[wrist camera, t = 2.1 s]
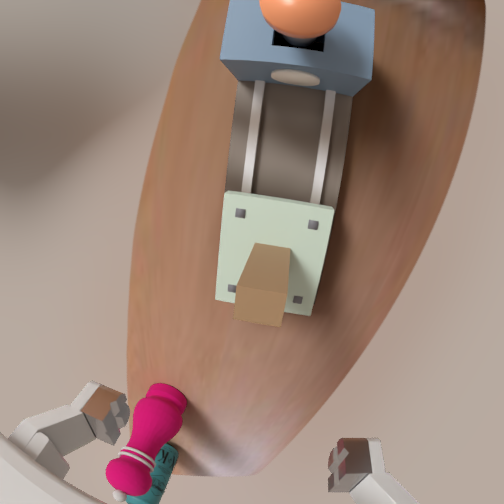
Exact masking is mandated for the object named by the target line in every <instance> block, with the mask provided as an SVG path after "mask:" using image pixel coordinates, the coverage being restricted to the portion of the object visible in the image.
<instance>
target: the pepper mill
mask: <svg viewBox="0 0 504 504" xmlns="http://www.w3.org/2000/svg"><path fill="white" fill-rule="evenodd" d="M186 405H187V401H186V398H185V396H184V395H183V394H182V393H181V392H180V391H179V390H177V389H176V388H174V387H172V386H170V385H167V384H162V383H157V384H153V385H152V386H151V387H150V389H149V390H148V392H147V394H146V397H145V398H142V399H141V400H139V401H138V403H137V405H136V407H135V410H134V414H133V430H132V435H131V438H130V440H129V442H128V444H127V445H126V447H122V448H121V451H120V452H119V453H118V456H119V458H116V459H113V460H111V461H110V462H109V464H108V465H107V468H106V477H107V480H108V482H109V483H110V484H111V485H112V486H113V487H114V488H115V489H116V490H115V491H114V492H113V497H114V499H115V500H117V501H119V502H123V501H125V500H126V499H127V495H130V496H141V495H144V494H146V493H147V492H148V491H149V489H150V488H151V485H152V478H151V475H150V473H152V472H153V471H154V467H155V466H156V463H155V458H156V455H157V453H158V452H159V450H160V449H161V448H162V446H163V445H164V444H166V443H167V442H168V441H169V440H170V439H172V438H173V437H174V436H175V435H176V434H177V433H178V431H179V430H180V428H181V426H182V416H181V415H182V414H183V412H184V410H185V408H186Z"/></svg>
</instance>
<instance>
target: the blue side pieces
mask: <svg viewBox="0 0 504 504" xmlns="http://www.w3.org/2000/svg"><path fill="white" fill-rule="evenodd" d="M374 21H375V10H374V9H370V8H366V7H362V6H358V5H354V4H350V3H345V2H341V12H340V15H339V18H338V21H337V23H336V25H335V26H334V27H333V29H331V30H330V31H329V32H327V33H326V34H324V35H321V36H318V37H317V38H316V40H315V42H319V43H324V47H323V52H320V51H314V50H308V49H301V48H293V47H284V46H274V45H273V44H274V37H282V38H284V37H283V34H281V33H279V32H277V31H276V30H274V29H273V28H272V27H270V26H269V25H268V23H267V22H266V21H265V19H264V17H263V15H262V11H261V8H260V3H259V0H230V4H229V9H228V14H227V19H226V25H225V30H224V36H223V42H222V48H221V54H220V60H221V61H222V63H223V64H224V65H225V66H226V67H227V68H228V69H229V70H230V72H231V73H232V74H233V75H234V76H235V77H236V78H237V80H240V81H254V82H255V80H260V81H265V83H275V84H284V85H291V86H298V87H305V88H311V89H317V90H323V91H326V90H331V91H336V93H338V94H343V95H348V96H352V97H353V96H354V95H355V94H356V93H357V92H359V91H360V90H361V89H362V88H363V87H364V86H365V85H366V84H367V83H369V82H370V81H371V80H372V67H373V51H374Z"/></svg>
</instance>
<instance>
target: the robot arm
mask: <svg viewBox="0 0 504 504" xmlns="http://www.w3.org/2000/svg"><path fill="white" fill-rule="evenodd" d="M126 400H127V398H126V396H125V394H123V393H121V392H118V391H115V390H113V389H111V388H108V387H106V386H104V385H102V384H100V383H97V382H95V381H90V382H88V384H87V385H86V386H85V387H84V388H83V390H82V391H81V392H80V394H79V395H78V396H77V397H76V399H75V400H74V401H73V402H72V404H71V405H70V406H69V405H64V406H61V407H58V408H56V409H53V410H50V411H47V412H44V413H41V414H38V415H35V416H33V417H29V418H26V419H24V420H23V421H22V422H21V423H20V424H19V426H18V427H17V428H16V429H15V430H14V432H13V433H12V434H11V435H10V437H9V438H8V439H7V438H6V437H5V436H4V435H3V434H2V433H1V432H0V504H106V503H104V502H102V501H100V500H98V499H96V498H94V497H93V496H90V495H89V494H87V493H85V492H83V491H82V490H80V489H78V488H76V487H74V486H73V485H71V484H69V483H68V482H66V481H64V480H63V479H64V477H65V475H66V474H67V472H68V470H69V468H70V467H69V464H68V463H67V462H66V461H65V459H64V458H63V456H65V455H67V454H69V453H71V452H72V451H74V450H76V449H78V448H80V447H82V446H84V445H86V444H88V443H90V442H91V441H93V440H95V439H96V438H98V439H100V440H102V441H104V442H107V443H109V444H111V445H114V444H115V443H116V441H117V439H118V437H119V436H120V430H119V429H120V428H122V427H124V426H125V425H126V424H127V422H128V419H129V416H130V409H129V406H128V405H127V404H126V403H125V402H126ZM328 469H329V470H330V472H331V473H332V474H331V476H330V477H329V478H328V492H349V494H350V495H351V497H352V499H353V500H354V502H355V503H356V504H420V503H419V502H418V501H416V499H414V498H413V497H412V495H411V494H409V492H408V491H407V490H406V489H405V488H404V487H403V486H402V485H401V484H400V483H399V482H398V481H397V480H396V479H395V478H394V477H393V476H392V475H391V474H390V473H389V472H386V471H385V464H384V459H383V453H382V447H381V442H380V440H379V438H341V439H339V441H338V442H337V447H335V448H333V450H332V451H331V453H330V456H329V461H328Z"/></svg>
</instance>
